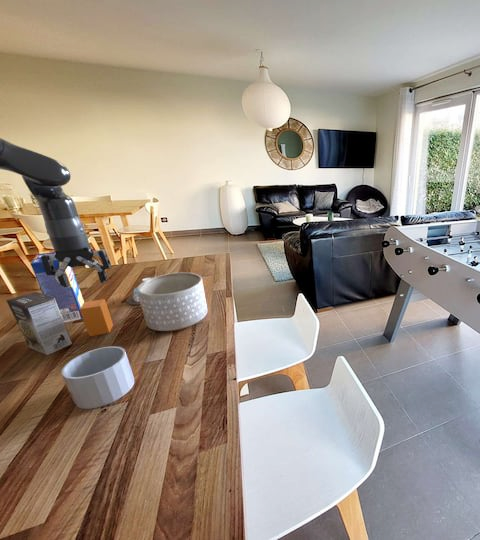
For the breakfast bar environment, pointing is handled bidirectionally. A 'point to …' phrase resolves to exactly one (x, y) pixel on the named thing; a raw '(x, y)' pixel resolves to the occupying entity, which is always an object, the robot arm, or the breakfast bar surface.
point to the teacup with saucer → (135, 296)
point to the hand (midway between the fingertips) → (85, 284)
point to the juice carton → (96, 317)
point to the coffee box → (40, 322)
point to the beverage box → (60, 289)
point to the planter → (172, 301)
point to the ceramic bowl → (98, 377)
